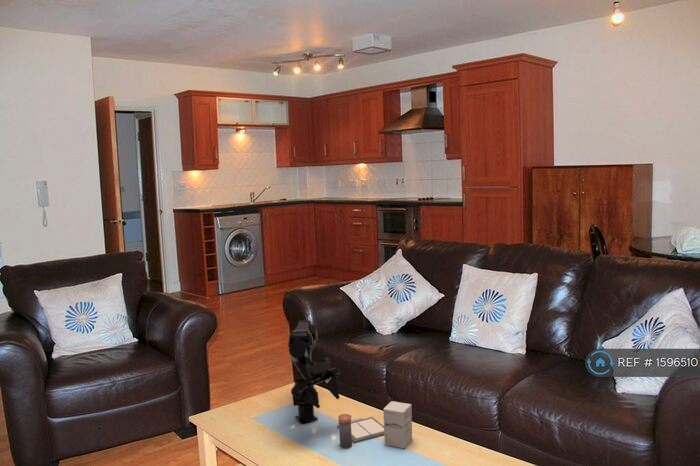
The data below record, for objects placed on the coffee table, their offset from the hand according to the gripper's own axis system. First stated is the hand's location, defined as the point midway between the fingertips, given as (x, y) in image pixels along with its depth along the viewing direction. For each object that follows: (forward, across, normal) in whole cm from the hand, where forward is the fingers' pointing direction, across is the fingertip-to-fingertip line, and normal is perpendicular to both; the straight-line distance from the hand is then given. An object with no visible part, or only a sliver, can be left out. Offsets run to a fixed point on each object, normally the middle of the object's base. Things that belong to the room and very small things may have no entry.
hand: (329, 403), depth 199 cm
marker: (+14, 0, +4) cm, 15 cm away
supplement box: (+23, +12, -4) cm, 27 cm away
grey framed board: (+12, +12, +6) cm, 18 cm away
